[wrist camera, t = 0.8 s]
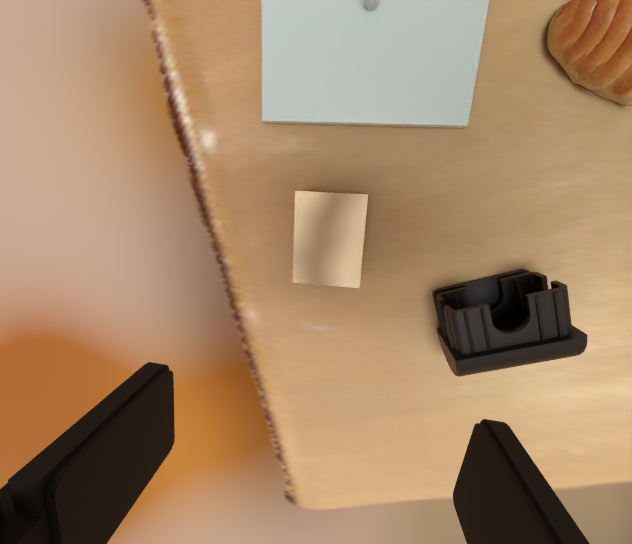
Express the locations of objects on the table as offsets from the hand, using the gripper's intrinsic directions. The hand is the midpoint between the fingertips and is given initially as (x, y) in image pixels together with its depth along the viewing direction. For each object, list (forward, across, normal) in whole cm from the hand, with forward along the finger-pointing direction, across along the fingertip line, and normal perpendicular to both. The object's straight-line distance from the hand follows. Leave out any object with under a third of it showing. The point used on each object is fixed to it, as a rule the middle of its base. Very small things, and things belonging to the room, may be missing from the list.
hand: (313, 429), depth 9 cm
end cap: (+23, -15, +3) cm, 28 cm away
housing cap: (+23, +1, -3) cm, 23 cm away
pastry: (+22, -19, -20) cm, 36 cm away
